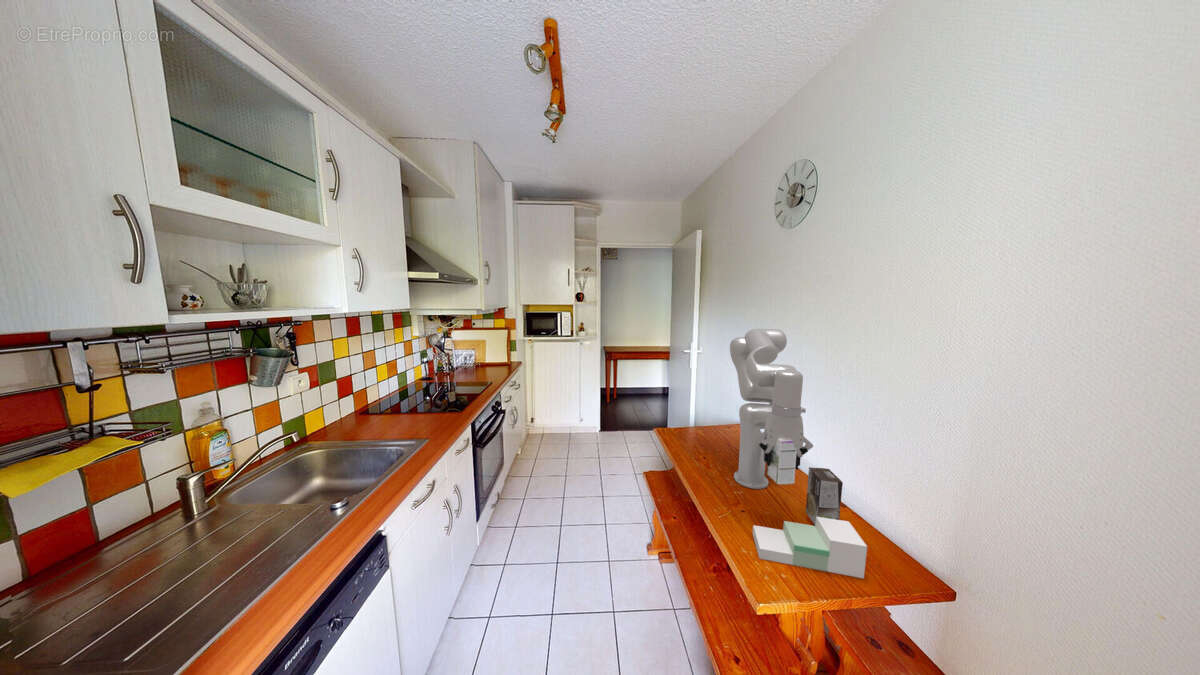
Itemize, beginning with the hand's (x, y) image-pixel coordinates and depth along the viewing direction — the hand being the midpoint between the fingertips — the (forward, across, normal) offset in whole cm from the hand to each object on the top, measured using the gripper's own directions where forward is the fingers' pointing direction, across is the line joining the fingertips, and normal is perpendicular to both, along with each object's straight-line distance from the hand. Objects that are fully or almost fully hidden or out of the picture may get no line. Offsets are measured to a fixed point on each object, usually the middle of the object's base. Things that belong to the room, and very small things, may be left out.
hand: (781, 465), depth 102 cm
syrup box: (+5, 0, 0) cm, 5 cm away
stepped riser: (+21, -4, +11) cm, 24 cm away
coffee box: (+21, -15, -7) cm, 27 cm away
